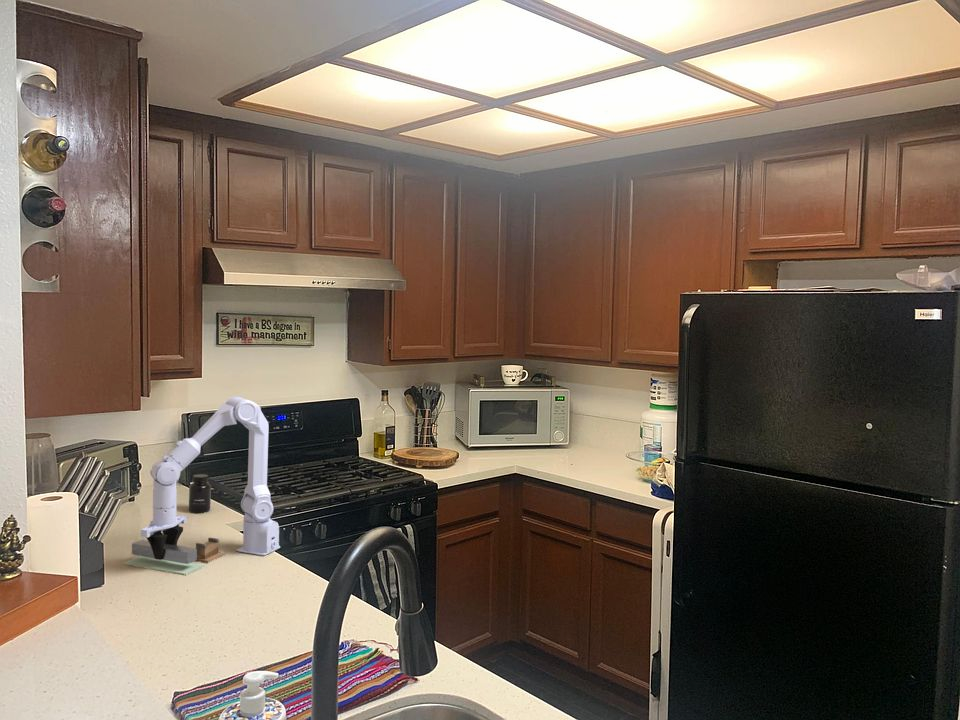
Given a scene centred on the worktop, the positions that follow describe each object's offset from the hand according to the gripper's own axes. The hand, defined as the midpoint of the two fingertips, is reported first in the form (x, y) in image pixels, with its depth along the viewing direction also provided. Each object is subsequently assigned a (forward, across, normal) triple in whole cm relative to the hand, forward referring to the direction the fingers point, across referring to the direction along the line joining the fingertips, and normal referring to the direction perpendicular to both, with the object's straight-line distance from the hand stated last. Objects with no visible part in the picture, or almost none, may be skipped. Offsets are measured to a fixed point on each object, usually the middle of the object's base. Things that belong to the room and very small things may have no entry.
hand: (164, 556), depth 193 cm
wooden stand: (+2, -10, -1) cm, 10 cm away
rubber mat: (+2, 0, 0) cm, 2 cm away
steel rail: (0, 0, 0) cm, 0 cm away
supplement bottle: (+3, -46, -26) cm, 52 cm away
